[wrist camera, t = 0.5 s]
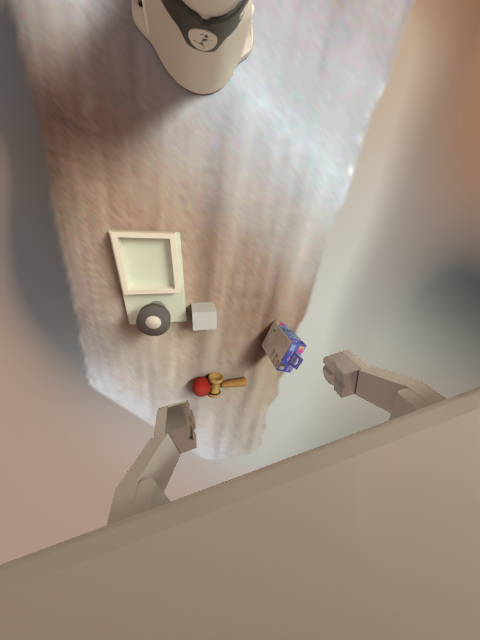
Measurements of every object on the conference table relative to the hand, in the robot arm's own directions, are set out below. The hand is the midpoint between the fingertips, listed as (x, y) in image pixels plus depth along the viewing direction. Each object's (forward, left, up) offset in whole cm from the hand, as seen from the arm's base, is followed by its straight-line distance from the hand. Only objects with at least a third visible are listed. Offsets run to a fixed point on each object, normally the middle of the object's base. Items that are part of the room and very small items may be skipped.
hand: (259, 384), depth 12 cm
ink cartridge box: (+26, +22, -44) cm, 56 cm away
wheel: (+14, -12, -38) cm, 42 cm away
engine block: (+16, 0, -44) cm, 47 cm away
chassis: (+7, -12, -44) cm, 46 cm away
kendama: (+42, +4, -44) cm, 61 cm away
